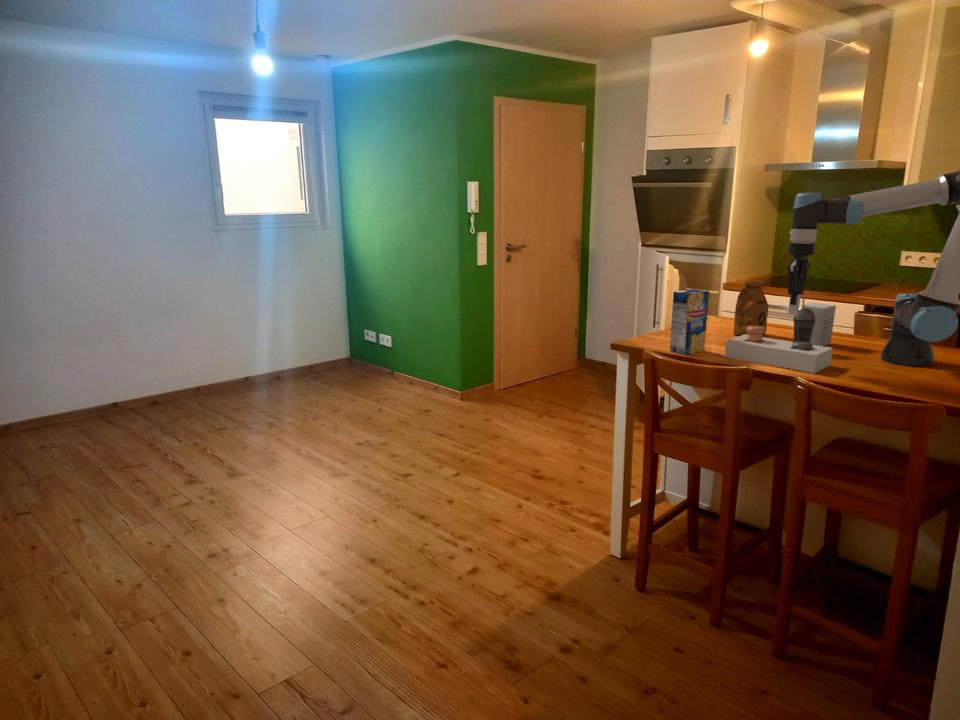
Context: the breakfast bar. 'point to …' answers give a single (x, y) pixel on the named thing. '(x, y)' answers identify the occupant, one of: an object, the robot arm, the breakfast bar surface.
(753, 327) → the terracotta plunger
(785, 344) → the plunger panel
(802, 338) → the beverage cup
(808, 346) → the charcoal plunger
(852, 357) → the breakfast bar surface
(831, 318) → the supplement box
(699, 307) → the beverage box
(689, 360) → the breakfast bar surface
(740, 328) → the coffee package
